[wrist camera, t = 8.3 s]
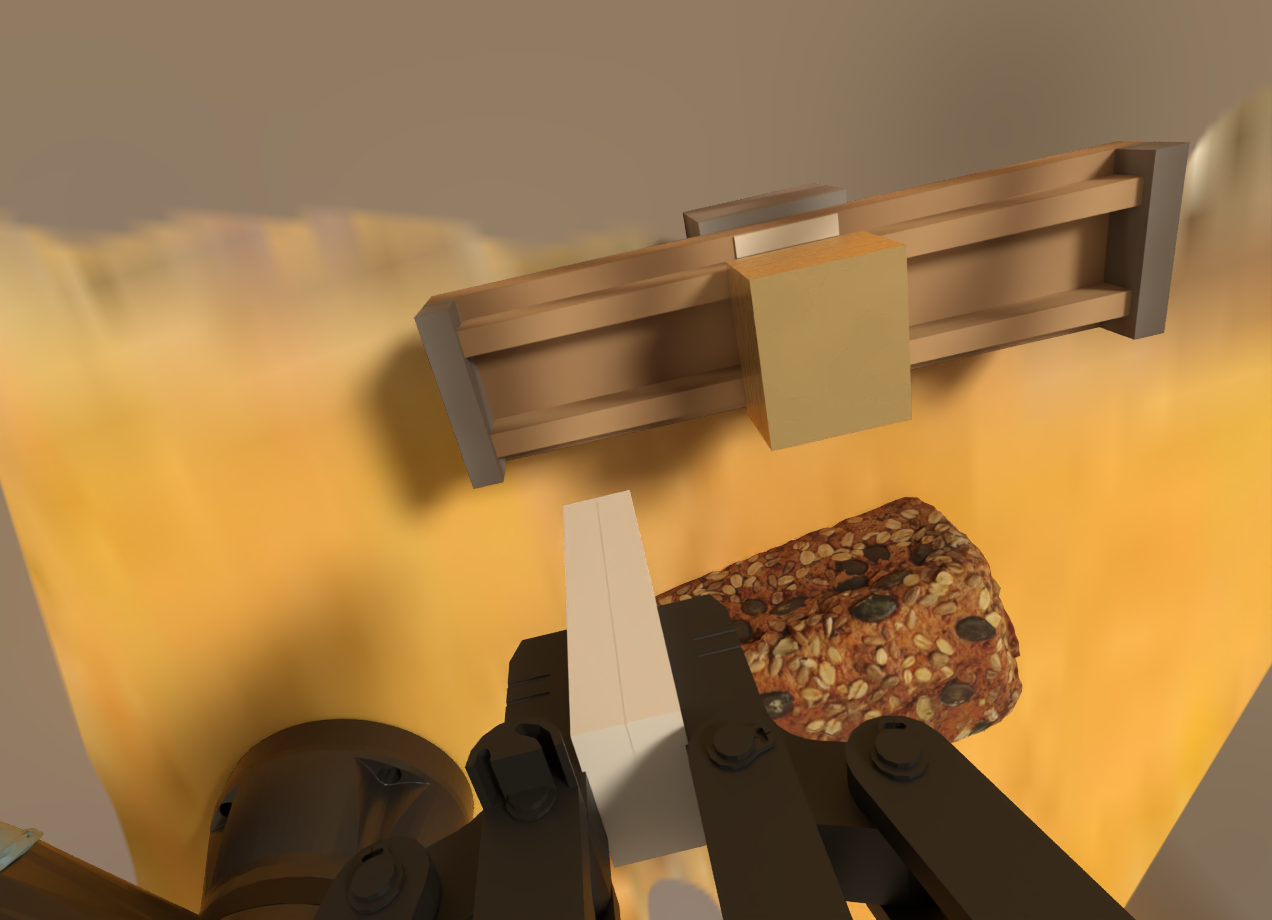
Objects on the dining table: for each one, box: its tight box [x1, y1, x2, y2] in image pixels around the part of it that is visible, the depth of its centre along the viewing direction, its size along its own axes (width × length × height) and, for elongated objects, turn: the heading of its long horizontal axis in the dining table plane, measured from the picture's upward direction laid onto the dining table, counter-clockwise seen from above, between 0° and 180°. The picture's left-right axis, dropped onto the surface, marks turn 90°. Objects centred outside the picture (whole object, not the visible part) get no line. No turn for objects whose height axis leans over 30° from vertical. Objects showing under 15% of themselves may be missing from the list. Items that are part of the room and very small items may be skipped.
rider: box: [726, 231, 912, 451], centre depth 25 cm, size 5×6×5 cm
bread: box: [655, 497, 1022, 743], centre depth 37 cm, size 19×11×10 cm, turn 111°
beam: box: [414, 142, 1189, 489], centre depth 30 cm, size 28×8×8 cm, turn 102°
